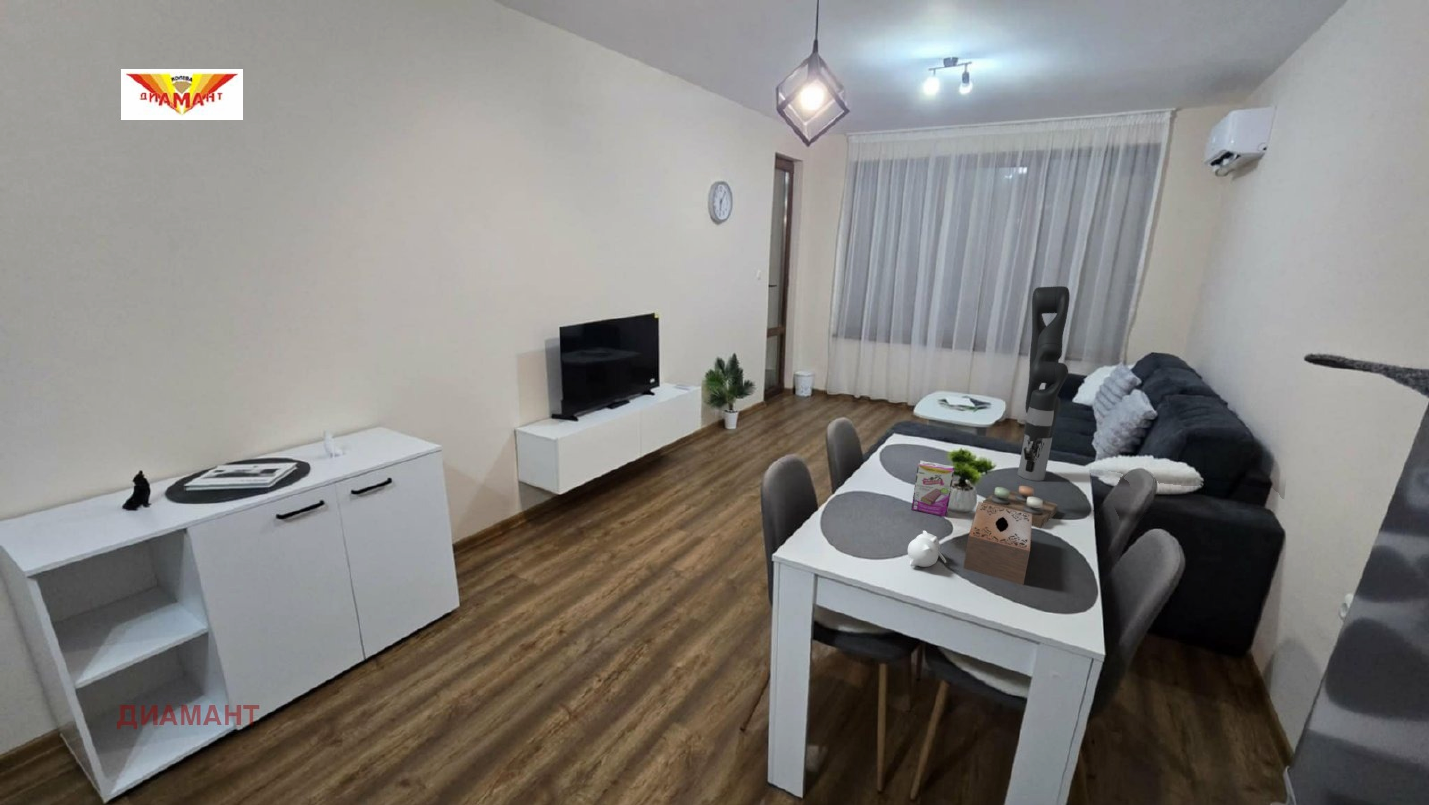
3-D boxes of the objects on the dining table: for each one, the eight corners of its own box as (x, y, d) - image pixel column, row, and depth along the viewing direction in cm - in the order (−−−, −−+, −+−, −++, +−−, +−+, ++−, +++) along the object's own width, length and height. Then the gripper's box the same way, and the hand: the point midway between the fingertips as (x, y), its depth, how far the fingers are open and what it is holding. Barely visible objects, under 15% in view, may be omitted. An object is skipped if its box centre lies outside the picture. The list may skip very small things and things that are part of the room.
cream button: (1028, 501, 184) (1030, 495, 183) (1043, 505, 181) (1044, 499, 180) (1024, 504, 181) (1025, 499, 180) (1039, 509, 178) (1040, 503, 177)
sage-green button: (997, 491, 191) (998, 486, 190) (1010, 495, 188) (1011, 490, 187) (992, 494, 188) (993, 489, 187) (1006, 499, 185) (1007, 493, 184)
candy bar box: (910, 510, 186) (917, 464, 182) (912, 504, 190) (918, 459, 186) (947, 518, 181) (954, 470, 177) (947, 512, 186) (955, 465, 182)
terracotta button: (1020, 489, 193) (1022, 484, 192) (1034, 494, 190) (1035, 488, 189) (1016, 493, 190) (1017, 487, 189) (1030, 497, 187) (1031, 491, 186)
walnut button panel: (1000, 495, 200) (1002, 485, 199) (1056, 512, 188) (1058, 502, 187) (981, 509, 189) (983, 498, 188) (1040, 528, 176) (1042, 516, 175)
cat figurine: (927, 521, 158) (919, 536, 148) (958, 548, 155) (952, 566, 145) (907, 540, 162) (897, 557, 152) (937, 567, 159) (929, 586, 148)
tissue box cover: (1023, 585, 145) (1029, 551, 142) (963, 569, 152) (968, 535, 149) (1026, 544, 167) (1032, 513, 164) (973, 531, 174) (978, 501, 171)
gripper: (1033, 415, 191) (1024, 463, 195) (1019, 422, 182) (1010, 472, 186) (1057, 421, 185) (1047, 470, 190) (1045, 428, 176) (1035, 479, 181)
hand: (1029, 471), depth 188 cm, fingers closed
